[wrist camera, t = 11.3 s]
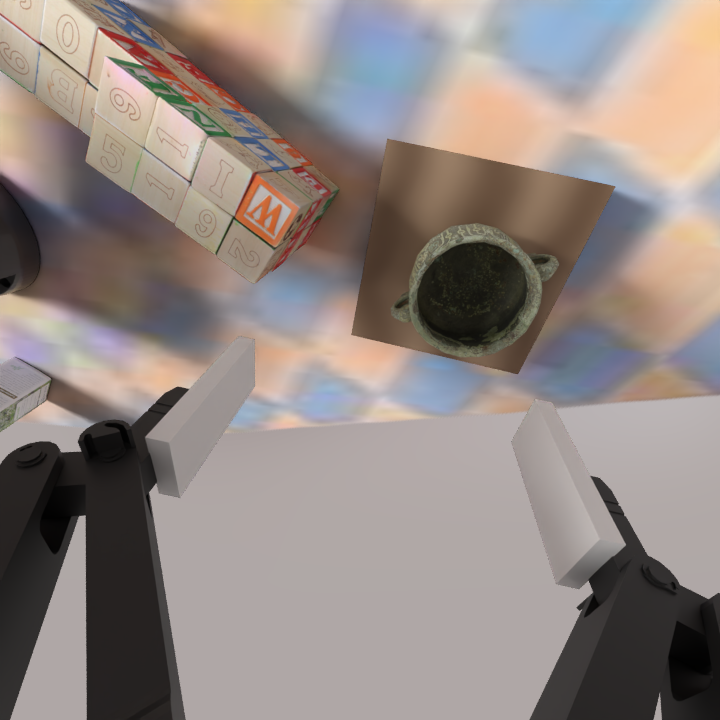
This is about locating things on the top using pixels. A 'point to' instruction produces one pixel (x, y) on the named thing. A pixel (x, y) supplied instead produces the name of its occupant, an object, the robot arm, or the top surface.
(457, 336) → the vessel
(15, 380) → the syrup box
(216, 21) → the top surface
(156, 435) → the robot arm
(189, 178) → the stack of blocks
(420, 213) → the walnut block
